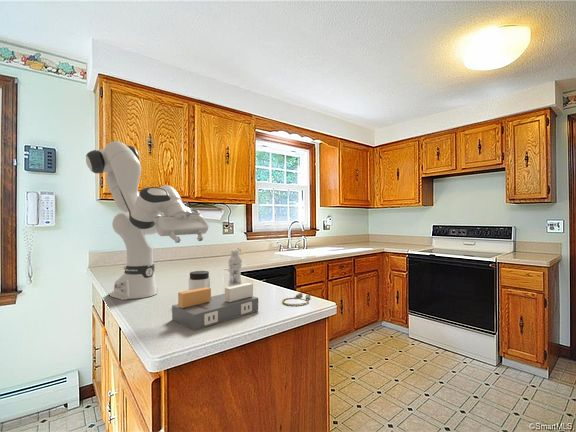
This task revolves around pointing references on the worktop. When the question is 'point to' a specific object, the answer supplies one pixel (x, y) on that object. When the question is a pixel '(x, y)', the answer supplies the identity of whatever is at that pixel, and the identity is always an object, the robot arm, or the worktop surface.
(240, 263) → the plastic bottle
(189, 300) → the orange switch
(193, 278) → the jar
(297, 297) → the extension cord
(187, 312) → the switch box
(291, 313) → the worktop surface
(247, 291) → the white switch
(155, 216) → the robot arm
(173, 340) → the worktop surface
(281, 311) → the worktop surface
